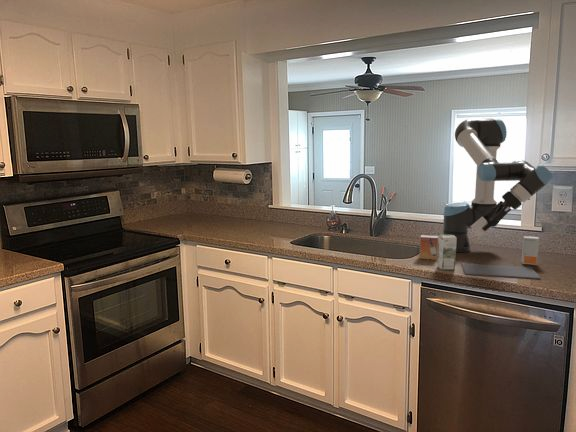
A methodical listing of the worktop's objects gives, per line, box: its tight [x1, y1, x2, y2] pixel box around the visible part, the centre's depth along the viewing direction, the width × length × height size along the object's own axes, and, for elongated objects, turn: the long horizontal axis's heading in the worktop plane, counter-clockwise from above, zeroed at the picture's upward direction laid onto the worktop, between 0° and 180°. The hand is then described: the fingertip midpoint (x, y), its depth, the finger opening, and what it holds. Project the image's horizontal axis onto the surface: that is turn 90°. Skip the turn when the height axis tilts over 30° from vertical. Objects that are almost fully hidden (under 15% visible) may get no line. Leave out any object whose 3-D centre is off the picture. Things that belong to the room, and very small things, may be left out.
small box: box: [418, 234, 439, 261], centre depth 219 cm, size 8×6×10 cm
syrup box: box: [436, 234, 457, 271], centre depth 201 cm, size 6×6×14 cm
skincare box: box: [520, 235, 540, 266], centre depth 207 cm, size 6×4×12 cm
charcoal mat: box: [461, 263, 542, 280], centre depth 196 cm, size 16×28×1 cm, turn 74°
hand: (474, 231), depth 196 cm, fingers open, 13 cm apart
